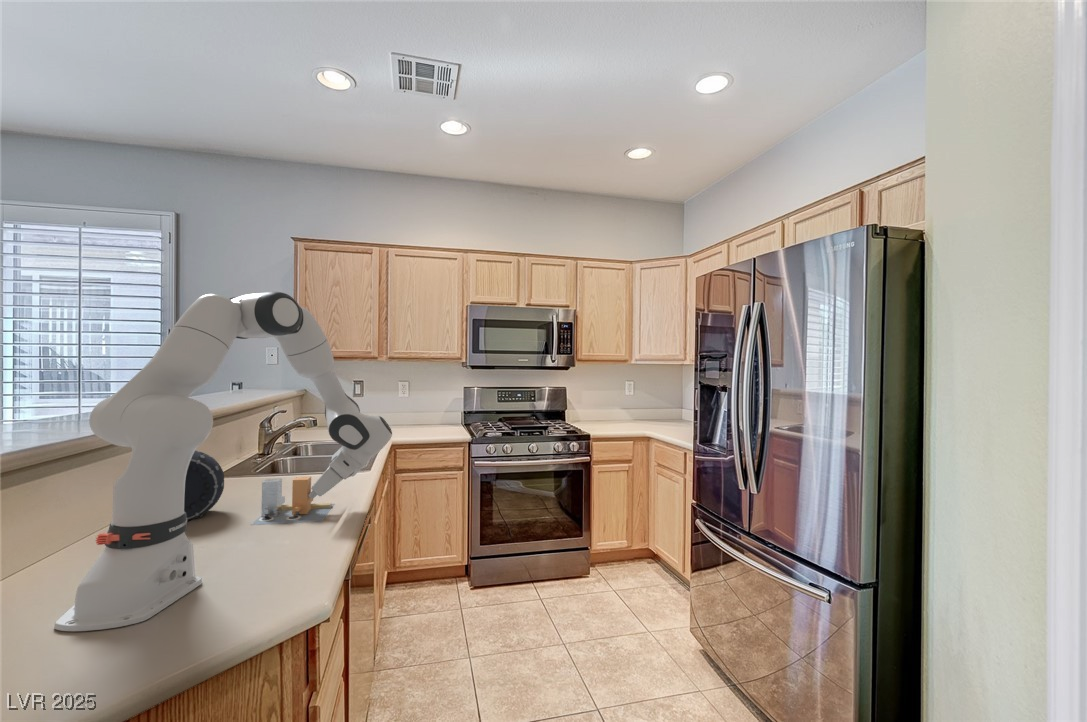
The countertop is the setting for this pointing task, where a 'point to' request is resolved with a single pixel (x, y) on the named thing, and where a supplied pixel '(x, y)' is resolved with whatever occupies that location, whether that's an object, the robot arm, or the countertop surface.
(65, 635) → the countertop surface
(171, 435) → the robot arm
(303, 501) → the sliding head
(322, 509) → the board
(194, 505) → the dark rounded piece
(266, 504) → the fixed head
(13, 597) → the countertop surface
